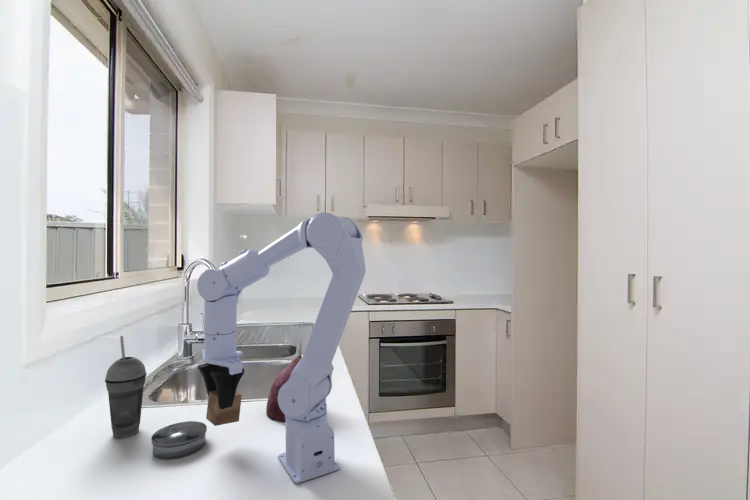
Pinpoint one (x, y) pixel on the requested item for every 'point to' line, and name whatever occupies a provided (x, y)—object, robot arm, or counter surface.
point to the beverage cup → (125, 394)
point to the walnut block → (223, 410)
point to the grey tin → (179, 440)
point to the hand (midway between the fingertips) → (220, 403)
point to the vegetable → (272, 403)
